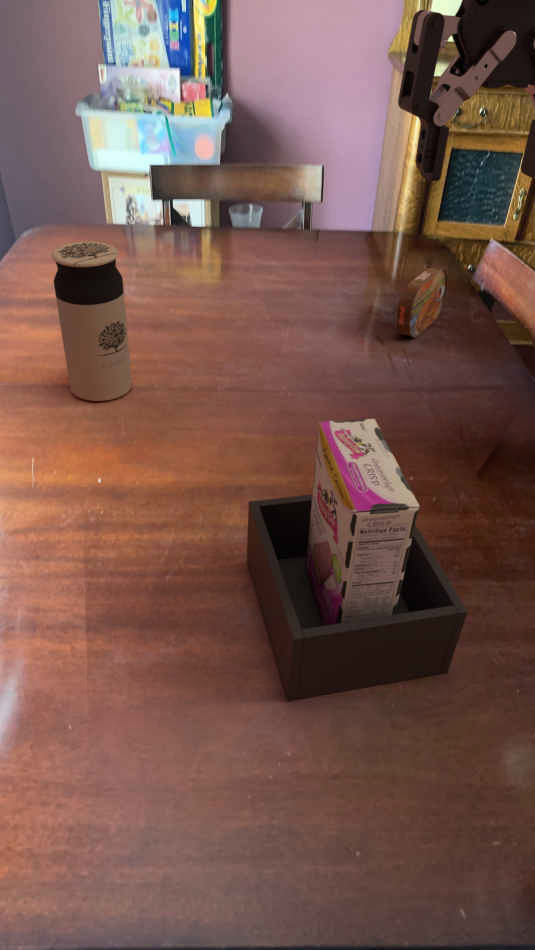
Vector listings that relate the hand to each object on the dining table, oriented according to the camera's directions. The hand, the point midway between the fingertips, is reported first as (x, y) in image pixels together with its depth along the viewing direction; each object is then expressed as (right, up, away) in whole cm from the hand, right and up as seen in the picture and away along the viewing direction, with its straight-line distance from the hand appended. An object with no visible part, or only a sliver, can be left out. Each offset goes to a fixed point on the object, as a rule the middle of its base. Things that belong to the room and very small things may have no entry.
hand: (481, 176), depth 52 cm
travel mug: (-38, -11, +37) cm, 55 cm away
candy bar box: (-10, -35, +8) cm, 37 cm away
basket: (-10, -35, +8) cm, 37 cm away
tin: (+8, +1, +57) cm, 57 cm away
